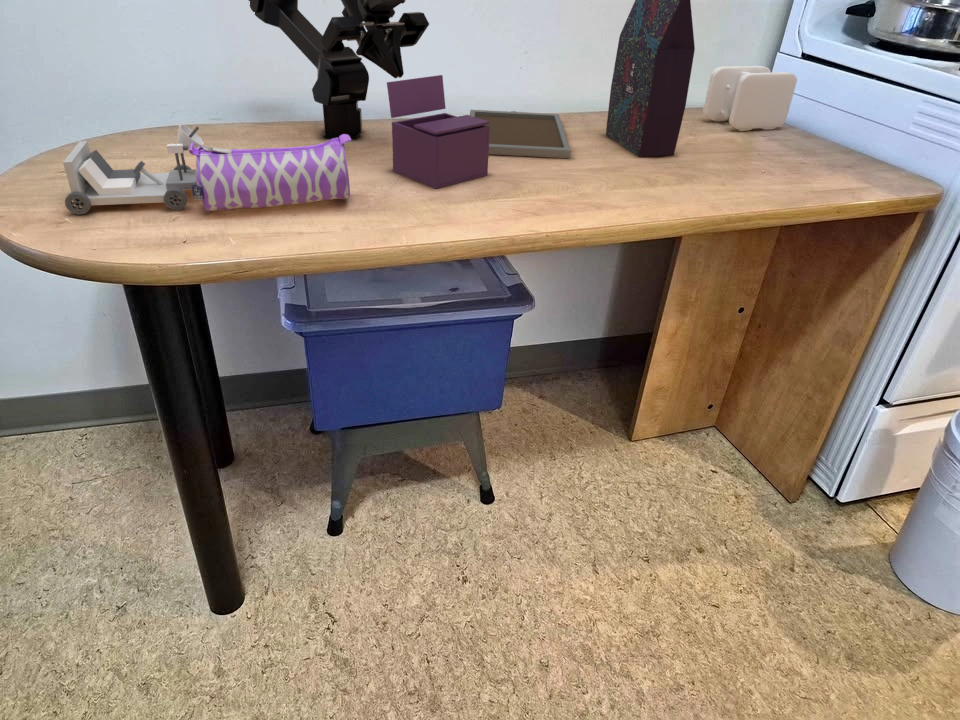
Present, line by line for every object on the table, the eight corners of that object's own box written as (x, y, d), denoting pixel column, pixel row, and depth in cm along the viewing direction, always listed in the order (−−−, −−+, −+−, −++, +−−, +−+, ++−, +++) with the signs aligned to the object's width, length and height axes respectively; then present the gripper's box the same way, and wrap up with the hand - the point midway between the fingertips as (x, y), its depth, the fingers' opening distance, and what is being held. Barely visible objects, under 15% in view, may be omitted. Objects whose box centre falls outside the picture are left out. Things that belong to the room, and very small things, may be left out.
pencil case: (197, 222, 93) (184, 152, 88) (195, 199, 100) (183, 133, 95) (358, 208, 100) (355, 142, 95) (346, 187, 107) (342, 125, 102)
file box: (392, 171, 115) (391, 117, 110) (444, 159, 122) (445, 107, 117) (435, 188, 109) (436, 132, 104) (487, 175, 115) (490, 121, 111)
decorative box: (638, 133, 143) (664, -20, 128) (678, 156, 130) (711, -11, 115) (602, 134, 141) (624, -21, 126) (638, 158, 128) (668, -12, 112)
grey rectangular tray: (465, 144, 124) (470, 106, 150) (465, 153, 125) (470, 114, 150) (570, 150, 124) (558, 110, 150) (569, 158, 125) (557, 118, 151)
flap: (392, 117, 110) (391, 117, 110) (445, 108, 117) (444, 108, 117) (388, 82, 108) (386, 82, 108) (442, 74, 115) (441, 75, 115)
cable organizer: (727, 132, 147) (741, 74, 140) (699, 120, 155) (710, 65, 149) (784, 129, 151) (800, 73, 145) (753, 117, 159) (767, 64, 153)
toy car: (202, 117, 101) (196, 139, 92) (213, 182, 107) (208, 209, 97) (67, 119, 97) (46, 142, 88) (86, 187, 102) (68, 215, 93)
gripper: (325, -43, 103) (373, 48, 102) (422, -43, 114) (465, 39, 113) (302, 10, 111) (345, 94, 111) (393, 5, 123) (433, 81, 122)
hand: (399, 76), depth 114 cm, fingers closed
